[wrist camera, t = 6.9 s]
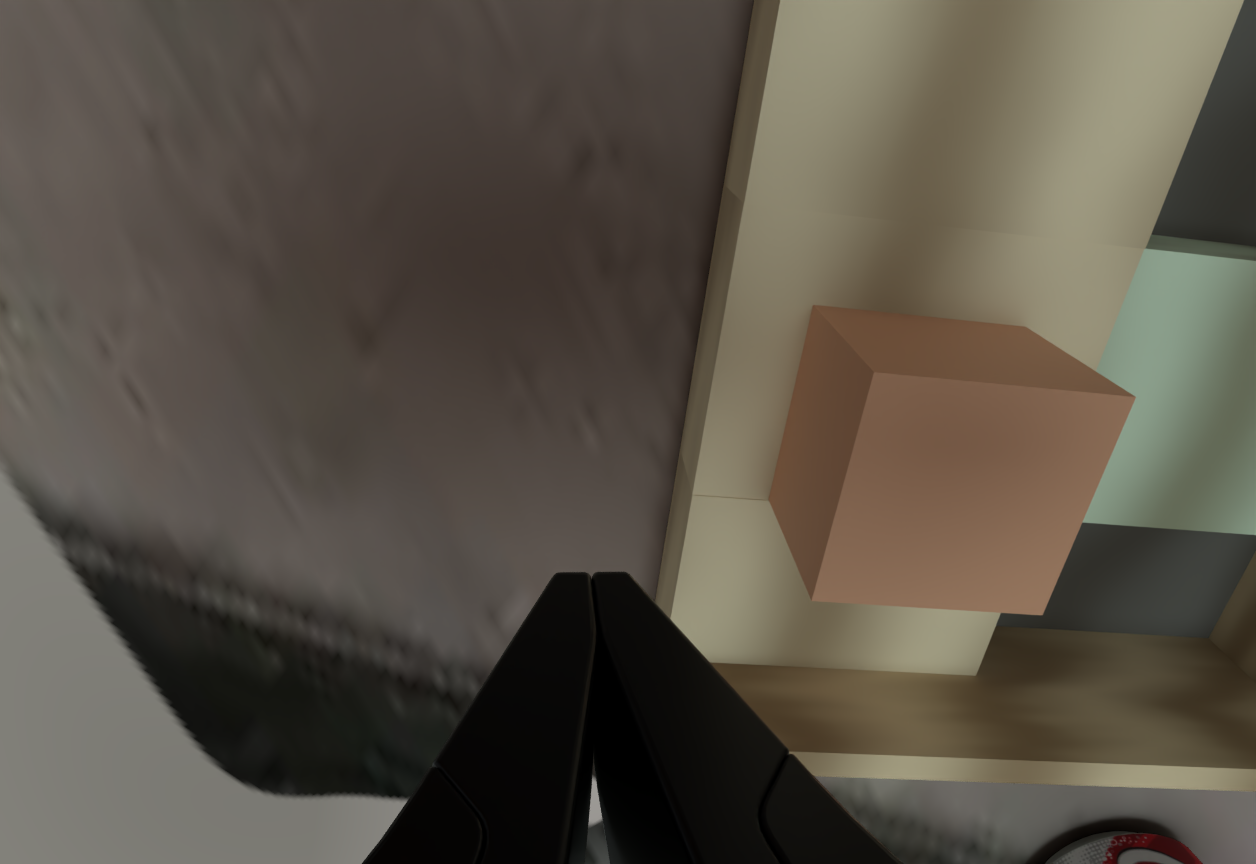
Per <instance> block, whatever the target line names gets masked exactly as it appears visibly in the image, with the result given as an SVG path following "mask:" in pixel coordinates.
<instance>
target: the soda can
mask: <svg viewBox="0 0 1256 864" xmlns="http://www.w3.org/2000/svg"><path fill="white" fill-rule="evenodd" d="M1045 864H1202V863H1201V861H1200V860H1199V859H1198V858H1197V857H1196V856H1195V855H1194V854H1193V853H1192V852H1191V850H1190V849H1189V848H1188V847H1186V846H1185V845H1184V844H1182V843H1181V842H1179V841H1177V840H1174V839H1172V838H1169V837H1165V836H1161V835H1157V834H1147V833H1134V832H1127V831H1112V832H1103V833H1099V834H1094V835H1091V836H1088V837H1085V838H1082V839H1080V840H1077V841H1075V842H1073V843H1071V844H1069V845H1067V846H1066V847H1064V848H1062V849H1061V850H1059V851H1058V852H1057V853H1055V854H1054V855H1053V856H1052V857H1051V858H1050V859H1048V861H1047V862H1046V863H1045Z"/></svg>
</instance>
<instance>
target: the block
mask: <svg viewBox="0 0 1256 864" xmlns="http://www.w3.org/2000/svg"><path fill="white" fill-rule="evenodd" d="M1135 399H1136V397H1135V396H1134V395H1132V394H1131V393H1129V392H1127V391H1126V390H1124V389H1123V388H1121V387H1120V386H1118V385H1116V384H1115V383H1113V382H1112V381H1110V380H1109V379H1107V378H1105V377H1104V376H1102V375H1101V374H1099V373H1098V372H1096V371H1094V370H1093V369H1091V368H1090V367H1088V366H1087V365H1085V364H1083V363H1082V362H1080V361H1079V360H1077V359H1076V358H1074V357H1072V356H1071V355H1069V354H1068V353H1066V352H1065V351H1063V350H1062V349H1060V348H1058V347H1057V346H1055V345H1054V344H1052V343H1051V342H1049V341H1047V340H1046V339H1044V338H1043V337H1041V336H1040V335H1038V334H1036V333H1035V332H1033V331H1032V330H1030V329H1029V328H1027V327H1024V326H1014V325H1005V324H995V323H985V322H976V321H966V320H956V319H947V318H937V317H927V316H918V315H908V314H898V313H889V312H879V311H869V310H860V309H850V308H840V307H831V306H821V305H813V307H812V312H811V316H810V320H809V325H808V329H807V334H806V338H805V342H804V347H803V351H802V355H801V360H800V364H799V369H798V373H797V377H796V382H795V386H794V390H793V395H792V399H791V403H790V408H789V412H788V417H787V421H786V425H785V430H784V434H783V438H782V443H781V447H780V452H779V456H778V460H777V465H776V469H775V473H774V478H773V482H772V486H771V491H770V495H769V502H770V504H771V507H772V509H773V511H774V514H775V516H776V518H777V521H778V523H779V526H780V528H781V530H782V533H783V535H784V537H785V540H786V542H787V544H788V547H789V549H790V551H791V554H792V556H793V559H794V561H795V563H796V566H797V568H798V570H799V573H800V575H801V577H802V580H803V582H804V584H805V587H806V589H807V591H808V594H809V596H810V599H811V601H818V602H835V603H851V604H867V605H883V606H899V607H915V608H931V609H947V610H964V611H980V612H996V613H1012V614H1028V615H1043V613H1044V610H1045V608H1046V606H1047V603H1048V601H1049V599H1050V597H1051V594H1052V592H1053V590H1054V587H1055V585H1056V583H1057V580H1058V578H1059V576H1060V573H1061V571H1062V569H1063V566H1064V564H1065V562H1066V559H1067V557H1068V555H1069V552H1070V550H1071V548H1072V545H1073V543H1074V541H1075V538H1076V536H1077V534H1078V531H1079V529H1080V527H1081V524H1082V522H1083V520H1084V517H1085V515H1086V513H1087V510H1088V508H1089V506H1090V503H1091V501H1092V499H1093V496H1094V494H1095V492H1096V489H1097V487H1098V485H1099V482H1100V480H1101V478H1102V475H1103V473H1104V471H1105V468H1106V466H1107V464H1108V461H1109V459H1110V457H1111V454H1112V452H1113V450H1114V447H1115V445H1116V443H1117V440H1118V438H1119V436H1120V433H1121V431H1122V429H1123V427H1124V424H1125V422H1126V420H1127V417H1128V415H1129V413H1130V410H1131V408H1132V406H1133V403H1134V401H1135Z"/></svg>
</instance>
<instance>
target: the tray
mask: <svg viewBox="0 0 1256 864" xmlns="http://www.w3.org/2000/svg"><path fill="white" fill-rule="evenodd" d="M813 305H821V306H831V307H840V308H850V309H860V310H869V311H879V312H889V313H898V314H908V315H918V316H927V317H937V318H947V319H956V320H966V321H976V322H985V323H995V324H1005V325H1014V326H1024V327H1027V328H1029V329H1030V330H1032V331H1033V332H1035V333H1036V334H1038V335H1040V336H1041V337H1043V338H1044V339H1046V340H1047V341H1049V342H1051V343H1052V344H1054V345H1055V346H1057V347H1058V348H1060V349H1062V350H1063V351H1065V352H1066V353H1068V354H1069V355H1071V356H1072V357H1074V358H1076V359H1077V360H1079V361H1080V362H1082V363H1083V364H1085V365H1087V366H1088V367H1090V368H1091V369H1093V370H1094V371H1096V372H1098V373H1099V374H1101V375H1102V376H1104V377H1105V378H1107V379H1109V380H1110V381H1112V382H1113V383H1115V384H1116V385H1118V386H1120V387H1121V388H1123V389H1124V390H1126V391H1127V392H1129V393H1131V394H1132V395H1134V396H1135V397H1136V399H1135V401H1134V403H1133V406H1132V408H1131V410H1130V413H1129V415H1128V417H1127V420H1126V422H1125V424H1124V427H1123V429H1122V431H1121V433H1120V436H1119V438H1118V440H1117V443H1116V445H1115V447H1114V450H1113V452H1112V454H1111V457H1110V459H1109V461H1108V464H1107V466H1106V468H1105V471H1104V473H1103V475H1102V478H1101V480H1100V482H1099V485H1098V487H1097V489H1096V492H1095V494H1094V496H1093V499H1092V501H1091V503H1090V506H1089V508H1088V510H1087V513H1086V515H1085V517H1084V520H1083V522H1082V524H1081V527H1080V529H1079V531H1078V534H1077V536H1076V538H1075V541H1074V543H1073V545H1072V548H1071V550H1070V552H1069V555H1068V557H1067V559H1066V562H1065V564H1064V566H1063V569H1062V571H1061V573H1060V576H1059V578H1058V580H1057V583H1056V585H1055V587H1054V590H1053V592H1052V594H1051V597H1050V599H1049V601H1048V603H1047V606H1046V608H1045V610H1044V613H1043V615H1028V614H1012V613H996V612H980V611H964V610H947V609H931V608H915V607H899V606H883V605H867V604H851V603H835V602H818V601H811V599H810V596H809V594H808V591H807V589H806V587H805V584H804V582H803V580H802V577H801V575H800V573H799V570H798V568H797V566H796V563H795V561H794V559H793V556H792V554H791V551H790V549H789V547H788V544H787V542H786V540H785V537H784V535H783V533H782V530H781V528H780V526H779V523H778V521H777V518H776V516H775V514H774V511H773V509H772V507H771V504H770V502H769V495H770V491H771V486H772V482H773V478H774V473H775V469H776V465H777V460H778V456H779V452H780V447H781V443H782V438H783V434H784V430H785V425H786V421H787V417H788V412H789V408H790V403H791V399H792V395H793V390H794V386H795V382H796V377H797V373H798V369H799V364H800V360H801V355H802V351H803V347H804V342H805V338H806V334H807V329H808V325H809V320H810V316H811V312H812V307H813ZM655 603H656V604H657V605H658V606H659V607H660V608H661V609H662V610H663V611H664V613H665V614H666V615H667V616H668V617H669V618H670V619H671V620H672V621H673V622H674V624H675V625H676V626H677V627H678V628H679V629H680V630H681V631H682V632H683V633H684V635H685V636H686V637H687V638H688V639H689V640H690V641H691V642H692V643H693V644H694V646H695V647H696V648H697V649H698V650H699V651H700V652H701V653H702V654H703V655H704V656H705V658H706V659H707V660H708V661H709V662H710V663H711V664H712V665H713V666H714V667H715V669H716V670H717V671H718V672H719V673H720V674H721V675H722V676H723V677H724V678H725V680H726V681H727V682H728V683H729V684H730V685H731V686H732V687H733V688H734V689H735V691H736V692H737V693H738V694H739V695H740V696H741V697H742V698H743V699H744V700H745V702H746V703H747V704H748V705H749V706H750V707H751V708H752V709H753V710H754V711H755V713H756V714H757V715H758V716H759V717H760V718H761V719H762V720H763V721H764V722H765V723H766V725H767V726H768V727H769V728H770V729H771V730H772V731H773V732H774V733H775V734H776V736H777V737H778V738H779V739H780V740H781V741H782V742H783V743H784V744H785V745H786V747H787V748H788V749H789V754H794V755H795V756H796V757H797V758H798V759H799V760H800V761H801V763H802V764H803V765H804V766H805V767H806V768H807V769H808V770H809V771H810V772H811V774H812V775H813V776H824V777H853V778H881V779H910V780H939V781H967V782H996V783H1024V784H1053V785H1081V786H1110V787H1138V788H1167V789H1196V790H1224V791H1253V792H1256V0H754V4H753V10H752V16H751V22H750V28H749V34H748V41H747V47H746V53H745V59H744V65H743V71H742V77H741V83H740V89H739V95H738V101H737V107H736V113H735V119H734V125H733V131H732V137H731V144H730V150H729V156H728V162H727V168H726V174H725V180H724V186H723V192H722V198H721V204H720V210H719V216H718V222H717V228H716V234H715V240H714V247H713V253H712V259H711V265H710V271H709V277H708V283H707V289H706V295H705V301H704V307H703V313H702V319H701V325H700V331H699V337H698V344H697V350H696V356H695V362H694V368H693V374H692V380H691V386H690V392H689V398H688V404H687V410H686V416H685V422H684V428H683V434H682V440H681V447H680V453H679V459H678V465H677V471H676V477H675V483H674V489H673V495H672V501H671V507H670V513H669V519H668V525H667V531H666V537H665V543H664V550H663V556H662V562H661V568H660V574H659V580H658V586H657V592H656V598H655Z"/></svg>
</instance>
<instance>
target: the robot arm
mask: <svg viewBox="0 0 1256 864" xmlns="http://www.w3.org/2000/svg"><path fill="white" fill-rule="evenodd" d="M593 752H594V765H595V774H596V781H597V789H598V795H599V801H600V807H601V813H602V819H603V825H604V831H605V837H606V842H607V848H608V854H609V860H610V864H903V863H902V862H901V861H900V860H899V859H898V858H897V857H896V856H895V855H893V854H892V853H891V852H890V851H889V850H888V849H887V848H886V847H885V846H884V845H883V844H882V843H881V842H880V841H878V840H877V839H876V838H875V837H874V836H873V835H872V834H871V833H870V832H869V831H868V830H867V829H866V828H865V827H864V826H862V825H861V824H860V823H859V822H858V821H857V820H856V819H855V818H854V817H853V816H852V815H851V814H850V813H849V812H848V811H847V810H846V809H845V808H844V807H843V806H842V805H841V804H840V803H839V802H838V801H837V800H836V799H835V798H834V797H833V796H832V795H831V794H830V792H829V791H828V790H827V789H826V788H825V787H824V786H823V785H822V784H821V783H820V782H819V781H818V780H817V779H816V778H815V777H814V776H813V775H812V774H811V772H810V771H809V770H808V769H807V768H806V767H805V766H804V765H803V764H802V763H801V761H800V760H799V759H798V758H797V757H796V756H795V755H794V754H789V749H788V748H787V747H786V745H785V744H784V743H783V742H782V741H781V740H780V739H779V738H778V737H777V736H776V734H775V733H774V732H773V731H772V730H771V729H770V728H769V727H768V726H767V725H766V723H765V722H764V721H763V720H762V719H761V718H760V717H759V716H758V715H757V714H756V713H755V711H754V710H753V709H752V708H751V707H750V706H749V705H748V704H747V703H746V702H745V700H744V699H743V698H742V697H741V696H740V695H739V694H738V693H737V692H736V691H735V689H734V688H733V687H732V686H731V685H730V684H729V683H728V682H727V681H726V680H725V678H724V677H723V676H722V675H721V674H720V673H719V672H718V671H717V670H716V669H715V667H714V666H713V665H712V664H711V663H710V662H709V661H708V660H707V659H706V658H705V656H704V655H703V654H702V653H701V652H700V651H699V650H698V649H697V648H696V647H695V646H694V644H693V643H692V642H691V641H690V640H689V639H688V638H687V637H686V636H685V635H684V633H683V632H682V631H681V630H680V629H679V628H678V627H677V626H676V625H675V624H674V622H673V621H672V620H671V619H670V618H669V617H668V616H667V615H666V614H665V613H664V611H663V610H662V609H661V608H660V607H659V606H658V605H657V604H656V603H655V602H654V600H653V599H652V598H651V597H650V596H649V595H648V594H647V593H646V592H645V591H644V589H643V588H642V587H641V586H640V585H639V584H638V583H637V582H636V581H635V580H634V579H633V577H632V576H631V575H630V574H628V573H627V572H596V573H595V574H593V576H592V580H591V576H590V575H589V574H588V573H586V572H560V573H556V574H555V575H554V576H553V577H552V578H551V580H550V581H549V583H548V585H547V586H546V588H545V589H544V591H543V592H542V594H541V595H540V597H539V599H538V600H537V602H536V603H535V605H534V606H533V608H532V609H531V611H530V613H529V614H528V616H527V617H526V619H525V620H524V622H523V623H522V625H521V627H520V628H519V630H518V631H517V633H516V634H515V636H514V637H513V639H512V641H511V642H510V644H509V645H508V647H507V648H506V650H505V651H504V653H503V655H502V656H501V658H500V659H499V661H498V662H497V664H496V665H495V667H494V669H493V670H492V672H491V673H490V675H489V676H488V678H487V679H486V681H485V683H484V684H483V686H482V687H481V689H480V690H479V692H478V693H477V695H476V697H475V698H474V700H473V701H472V703H471V704H470V706H469V707H468V709H467V711H466V712H465V714H464V715H463V717H462V718H461V720H460V721H459V723H458V725H457V726H456V728H455V729H454V731H453V732H452V734H451V735H450V737H449V739H448V740H447V742H446V743H445V745H444V746H443V748H442V749H441V751H440V753H439V754H438V756H437V757H436V759H435V760H434V762H433V767H430V768H429V769H428V771H427V772H426V774H425V775H424V777H423V778H422V780H421V781H420V783H419V785H418V786H417V788H416V789H415V791H414V792H413V794H412V795H411V797H410V798H409V800H408V801H407V803H406V804H405V806H404V807H403V809H402V810H401V812H400V813H399V814H398V816H397V817H396V819H395V820H394V822H393V823H392V824H391V826H390V827H389V829H388V830H387V832H386V833H385V834H384V836H383V837H382V839H381V840H380V841H379V843H378V844H377V845H376V846H375V848H374V849H373V850H372V851H371V853H370V854H369V855H368V856H367V858H366V859H365V860H364V861H363V863H362V864H585V855H586V844H587V833H588V822H589V810H590V799H591V786H592V769H593Z"/></svg>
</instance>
